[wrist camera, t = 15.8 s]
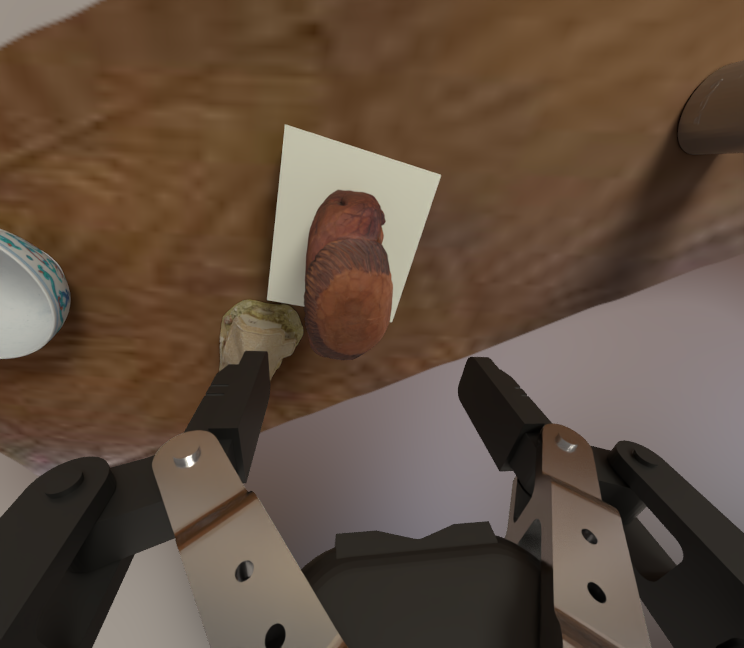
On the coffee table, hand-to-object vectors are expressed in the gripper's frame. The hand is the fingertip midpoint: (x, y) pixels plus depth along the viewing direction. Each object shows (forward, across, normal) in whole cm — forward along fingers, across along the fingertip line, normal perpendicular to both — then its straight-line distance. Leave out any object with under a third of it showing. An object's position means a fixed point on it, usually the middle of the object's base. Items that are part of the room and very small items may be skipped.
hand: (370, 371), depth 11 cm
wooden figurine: (+24, 0, 0) cm, 24 cm away
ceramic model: (+29, +11, +17) cm, 35 cm away
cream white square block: (+29, 0, 0) cm, 29 cm away
